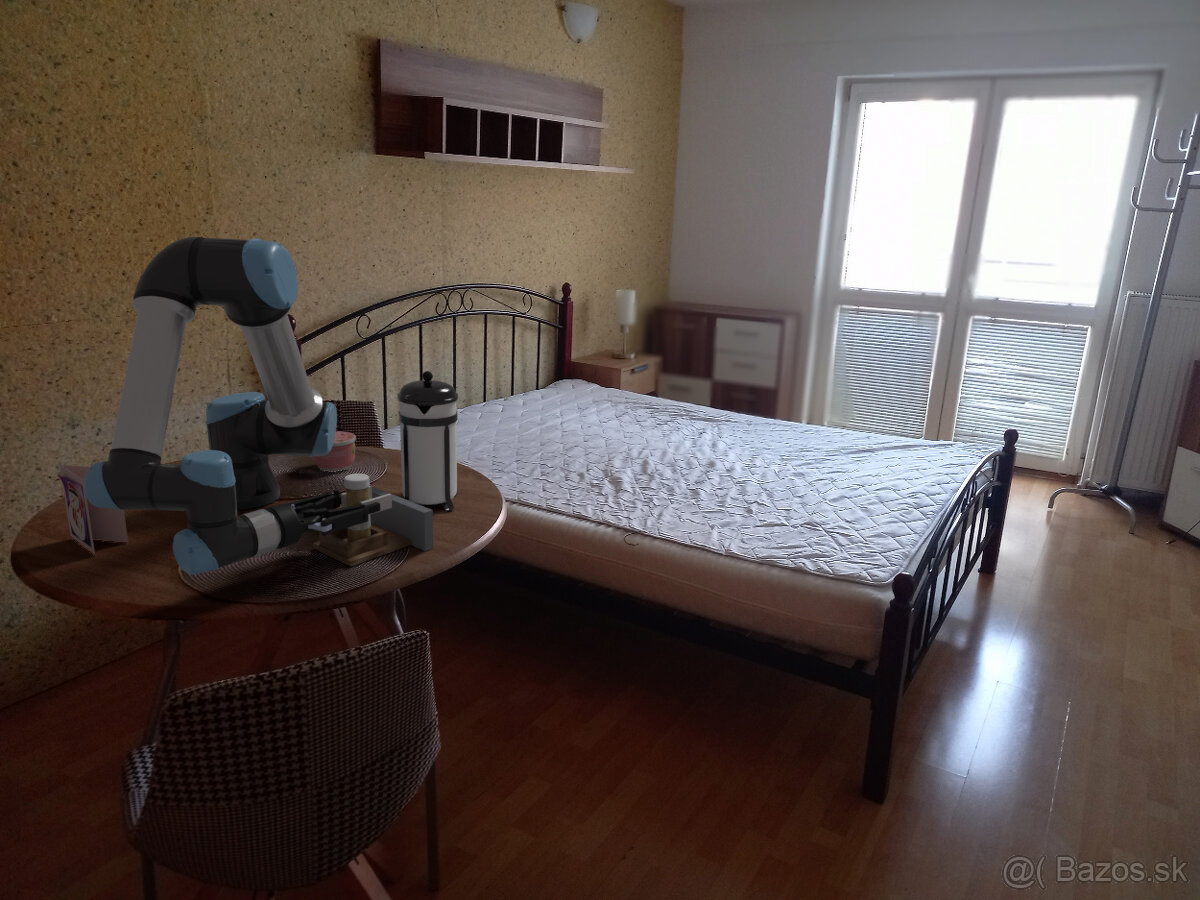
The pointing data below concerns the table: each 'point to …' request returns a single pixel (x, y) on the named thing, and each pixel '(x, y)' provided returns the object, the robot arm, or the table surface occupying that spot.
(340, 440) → the container
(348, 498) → the sprinkles bottle
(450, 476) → the coffee press
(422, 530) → the backstop wall
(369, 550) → the socket block
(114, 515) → the greeting card
